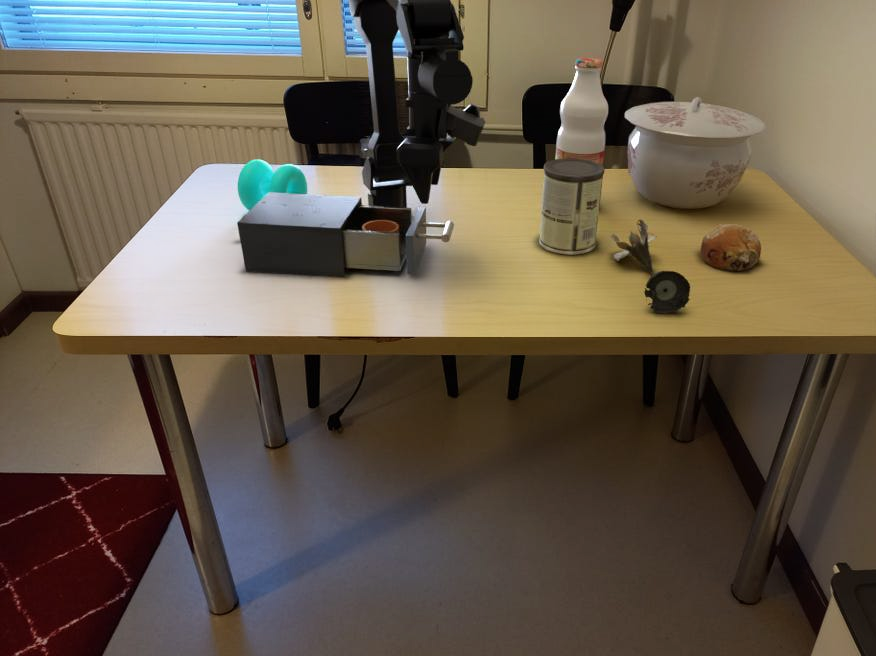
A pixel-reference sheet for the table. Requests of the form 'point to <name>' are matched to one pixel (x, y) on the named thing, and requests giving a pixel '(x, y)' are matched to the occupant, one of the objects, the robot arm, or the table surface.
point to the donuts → (268, 181)
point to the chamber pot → (688, 151)
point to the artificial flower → (664, 285)
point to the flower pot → (381, 226)
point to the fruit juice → (583, 115)
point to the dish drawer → (388, 238)
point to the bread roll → (731, 248)
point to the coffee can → (570, 205)
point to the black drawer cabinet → (296, 234)
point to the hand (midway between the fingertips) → (429, 193)
